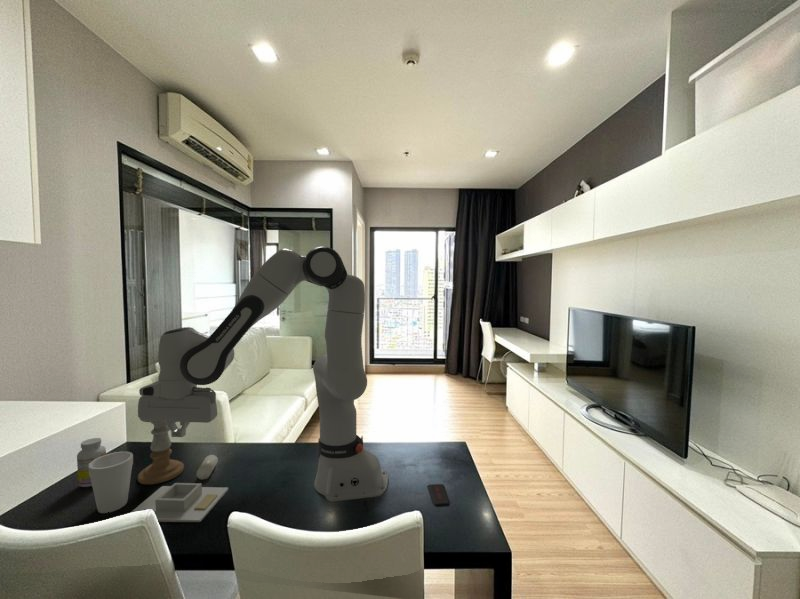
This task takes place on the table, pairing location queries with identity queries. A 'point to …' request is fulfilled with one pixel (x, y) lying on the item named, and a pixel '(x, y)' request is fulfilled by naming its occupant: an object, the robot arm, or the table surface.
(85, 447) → the supplement bottle
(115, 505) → the foam cup
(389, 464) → the table surface
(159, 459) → the candle holder
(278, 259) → the robot arm
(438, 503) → the dark rectangular block
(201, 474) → the white capsule
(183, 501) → the board
